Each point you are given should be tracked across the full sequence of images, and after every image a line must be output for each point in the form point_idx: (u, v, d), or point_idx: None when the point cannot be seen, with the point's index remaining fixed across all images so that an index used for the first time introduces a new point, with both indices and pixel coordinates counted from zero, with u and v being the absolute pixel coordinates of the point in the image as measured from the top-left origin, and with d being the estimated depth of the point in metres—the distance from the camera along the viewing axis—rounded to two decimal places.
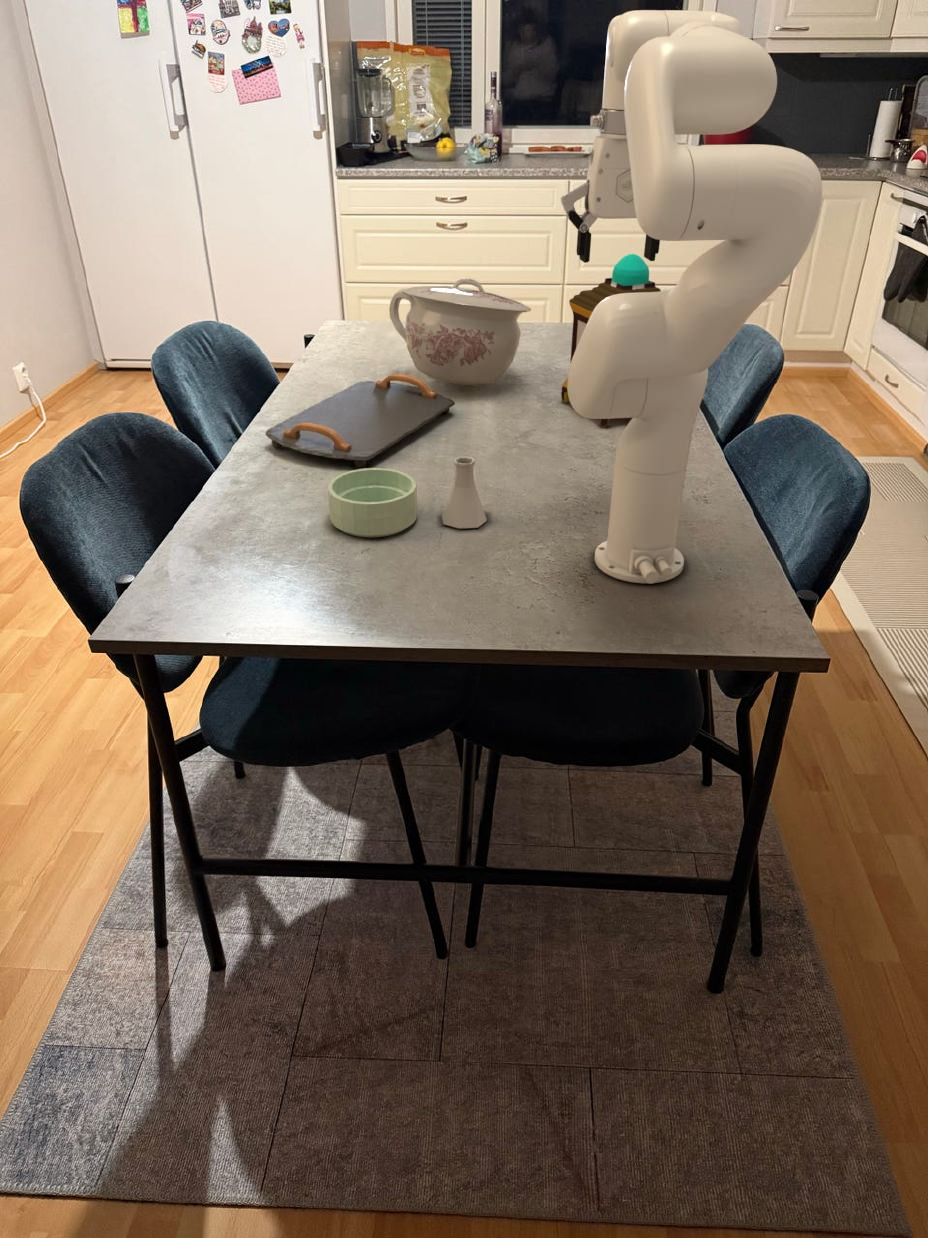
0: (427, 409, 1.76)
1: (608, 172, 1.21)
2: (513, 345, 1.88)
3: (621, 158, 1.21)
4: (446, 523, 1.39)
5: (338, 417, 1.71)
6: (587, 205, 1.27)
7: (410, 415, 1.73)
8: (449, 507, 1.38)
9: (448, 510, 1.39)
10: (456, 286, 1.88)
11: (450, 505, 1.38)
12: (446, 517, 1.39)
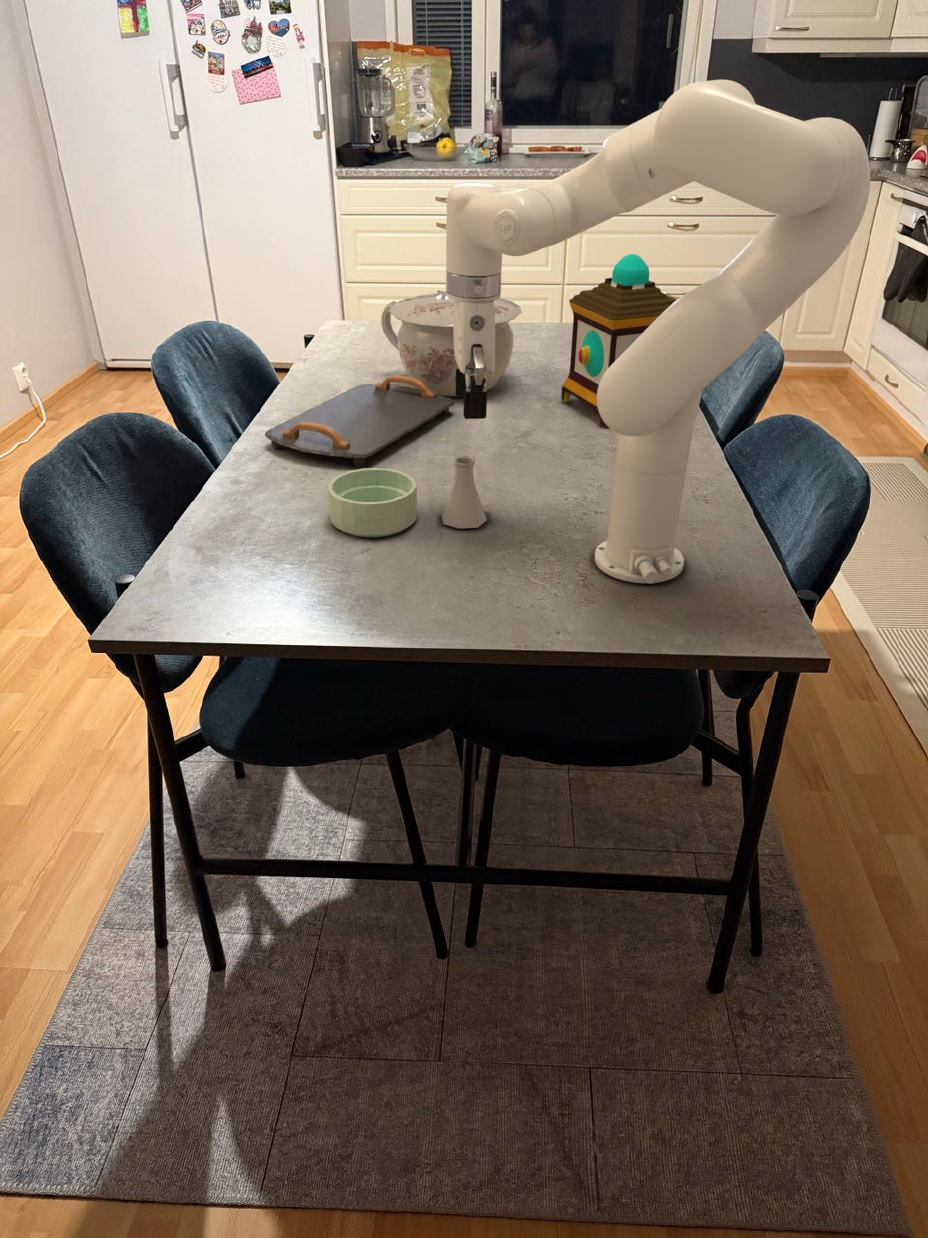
0: (426, 408, 1.76)
1: None
2: (507, 352, 1.87)
3: None
4: (446, 523, 1.39)
5: (337, 418, 1.71)
6: None
7: (409, 414, 1.73)
8: (449, 507, 1.38)
9: (448, 510, 1.39)
10: (443, 297, 1.87)
11: (450, 505, 1.38)
12: (446, 517, 1.39)
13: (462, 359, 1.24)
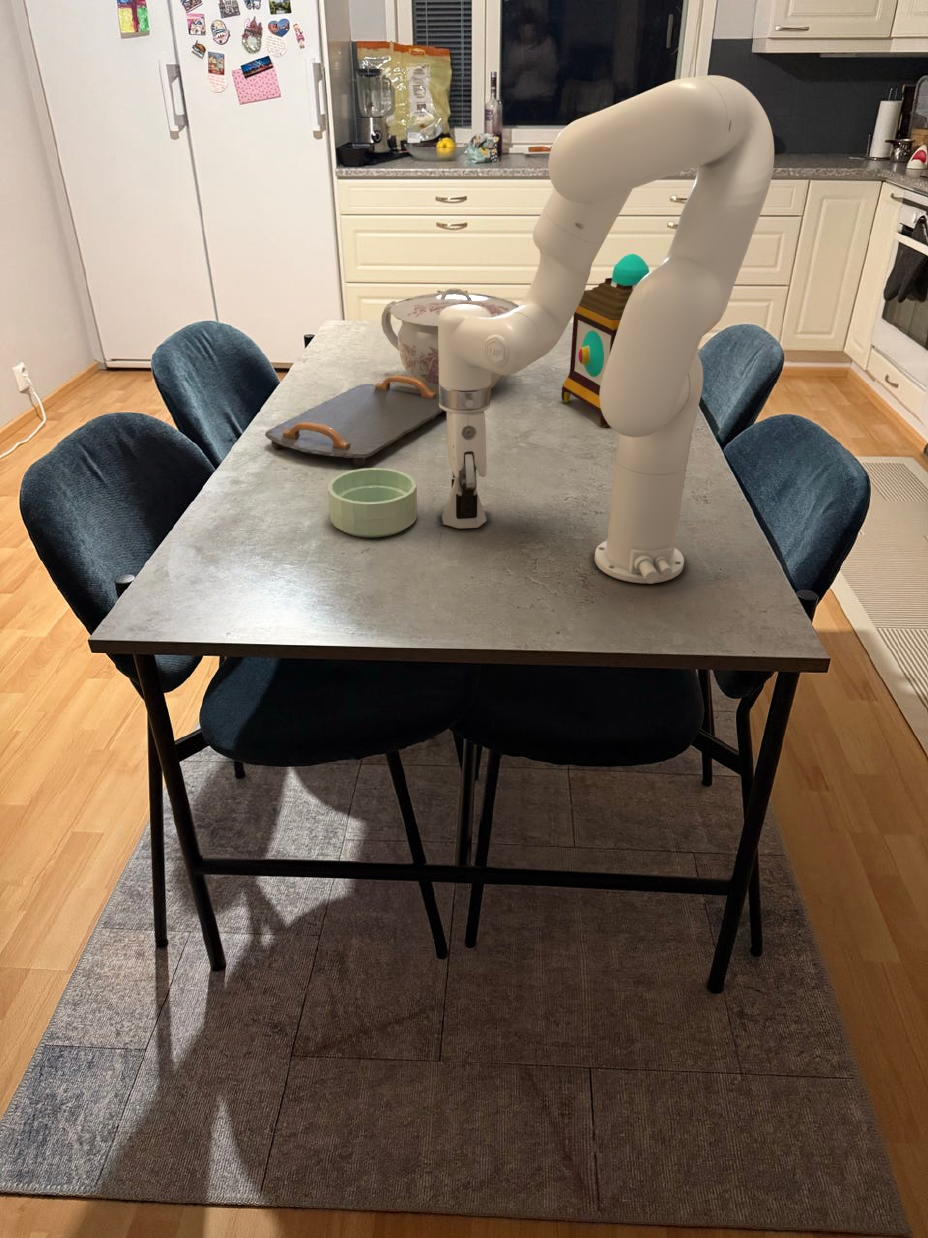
0: (426, 408, 1.76)
1: None
2: None
3: None
4: (446, 523, 1.39)
5: (337, 418, 1.71)
6: None
7: (409, 414, 1.73)
8: (449, 507, 1.38)
9: (448, 510, 1.39)
10: (443, 297, 1.87)
11: (450, 505, 1.38)
12: (446, 517, 1.39)
13: (455, 465, 1.31)
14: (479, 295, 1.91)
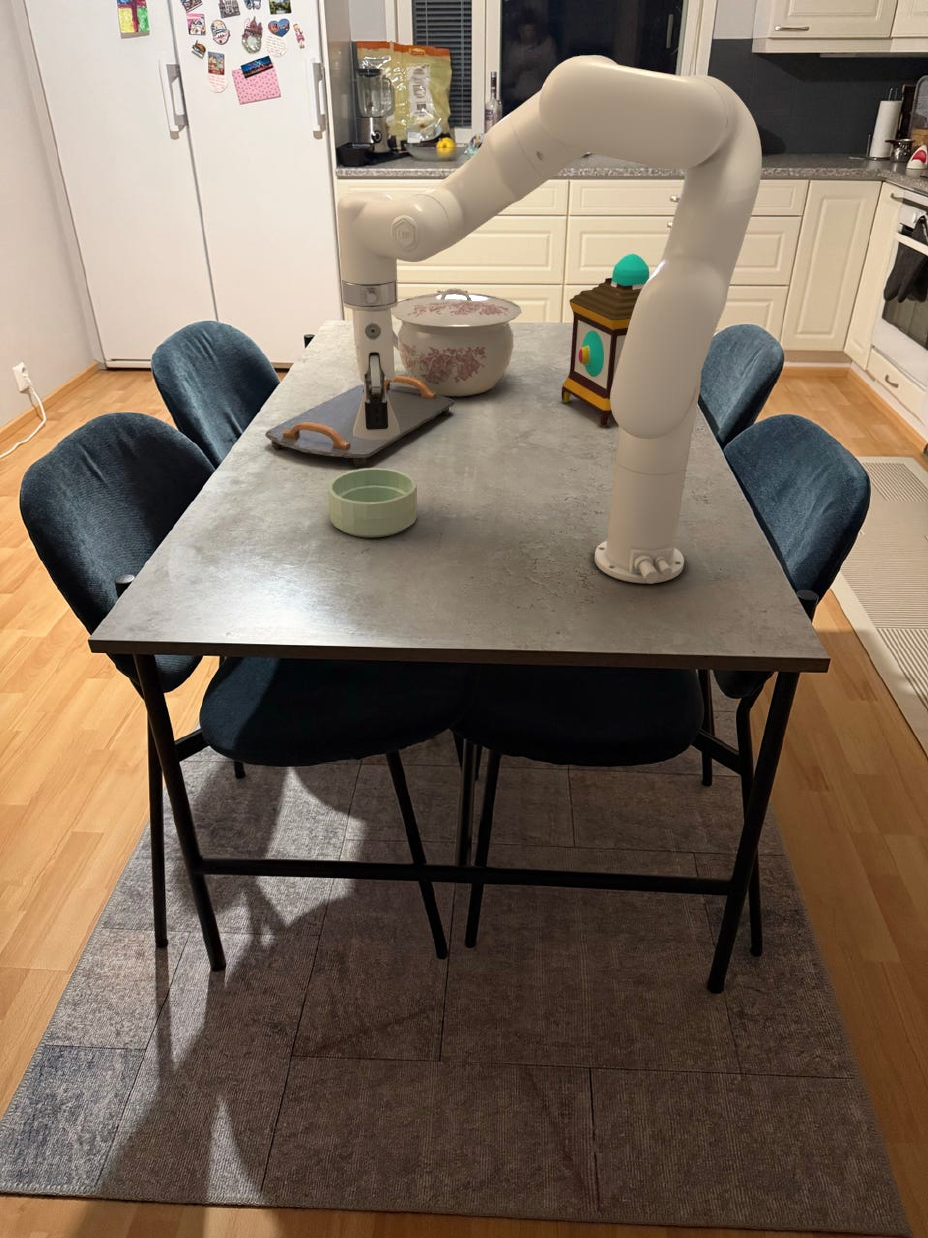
0: (426, 408, 1.76)
1: None
2: (507, 352, 1.87)
3: None
4: (356, 435, 1.31)
5: (338, 418, 1.71)
6: None
7: (410, 414, 1.73)
8: (359, 417, 1.31)
9: (358, 421, 1.31)
10: (443, 297, 1.87)
11: (360, 415, 1.30)
12: (356, 428, 1.31)
13: (360, 367, 1.23)
14: (479, 295, 1.91)
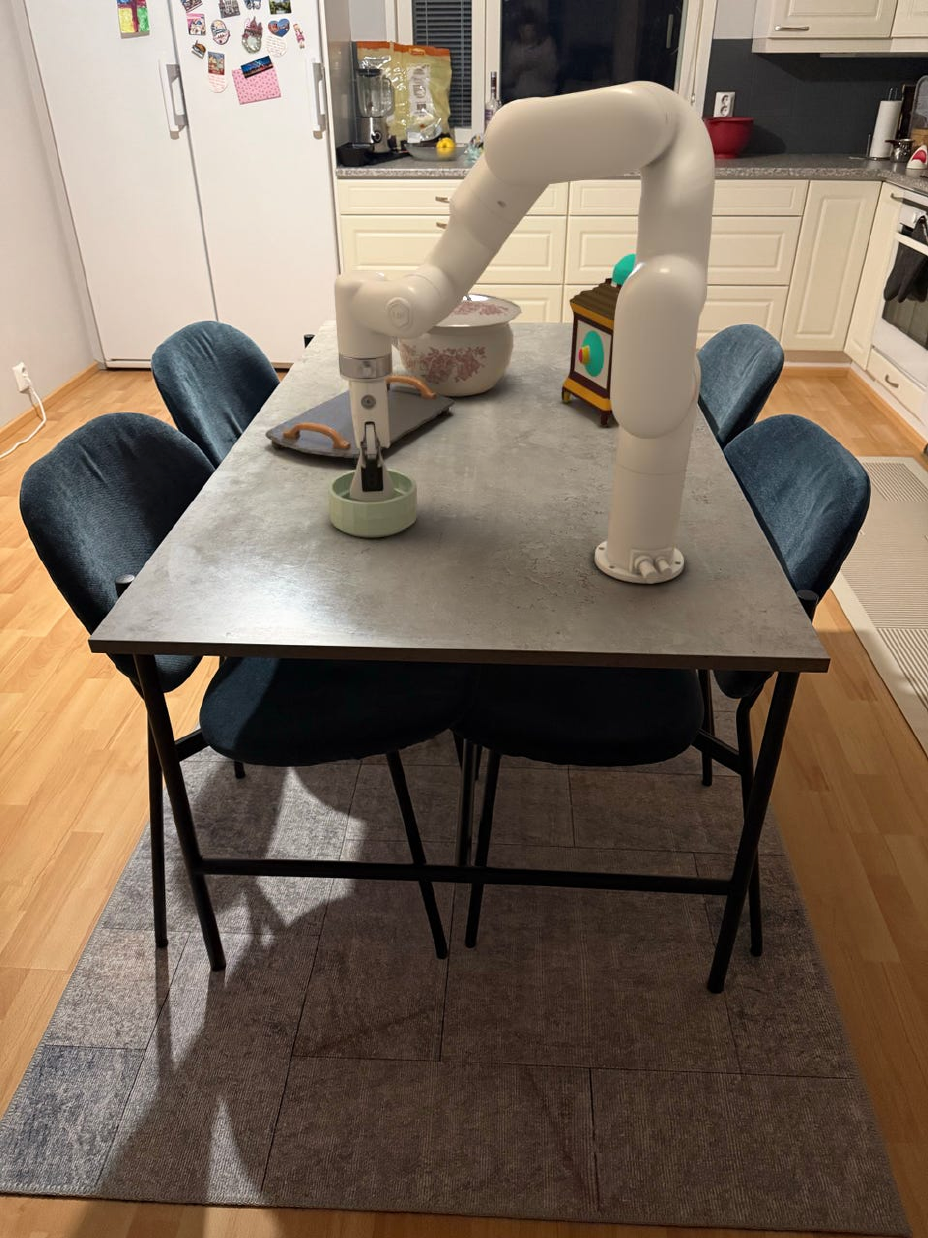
0: (427, 408, 1.76)
1: (387, 408, 1.29)
2: (507, 352, 1.87)
3: None
4: (352, 496, 1.36)
5: (338, 418, 1.71)
6: None
7: (410, 414, 1.73)
8: (355, 480, 1.36)
9: (354, 483, 1.36)
10: None
11: (356, 478, 1.35)
12: (352, 490, 1.36)
13: (356, 435, 1.28)
14: (479, 295, 1.91)
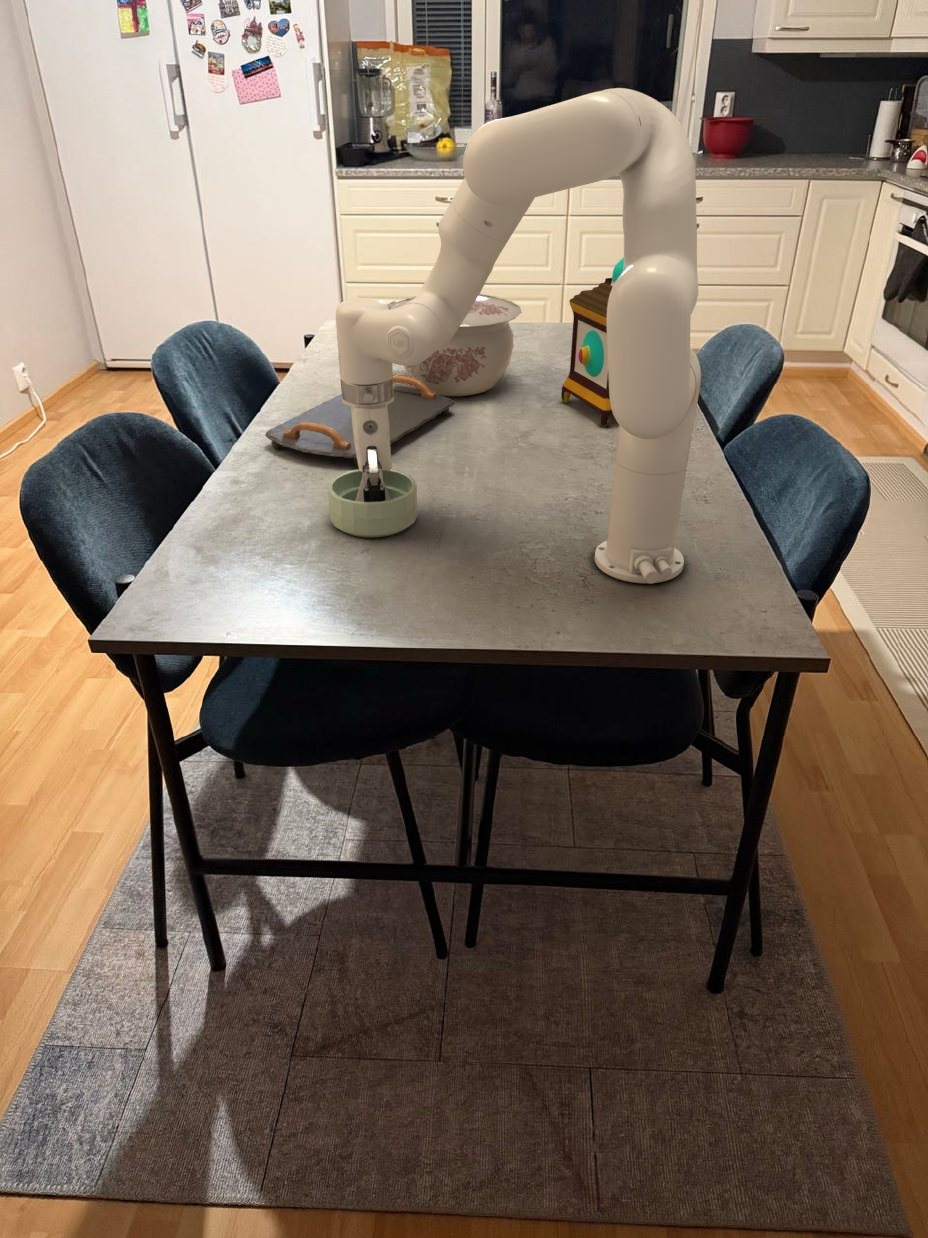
0: (427, 408, 1.76)
1: (389, 432, 1.31)
2: (507, 352, 1.87)
3: (388, 417, 1.31)
4: None
5: (338, 418, 1.71)
6: None
7: (410, 414, 1.73)
8: None
9: None
10: None
11: None
12: None
13: (359, 460, 1.30)
14: (479, 295, 1.91)
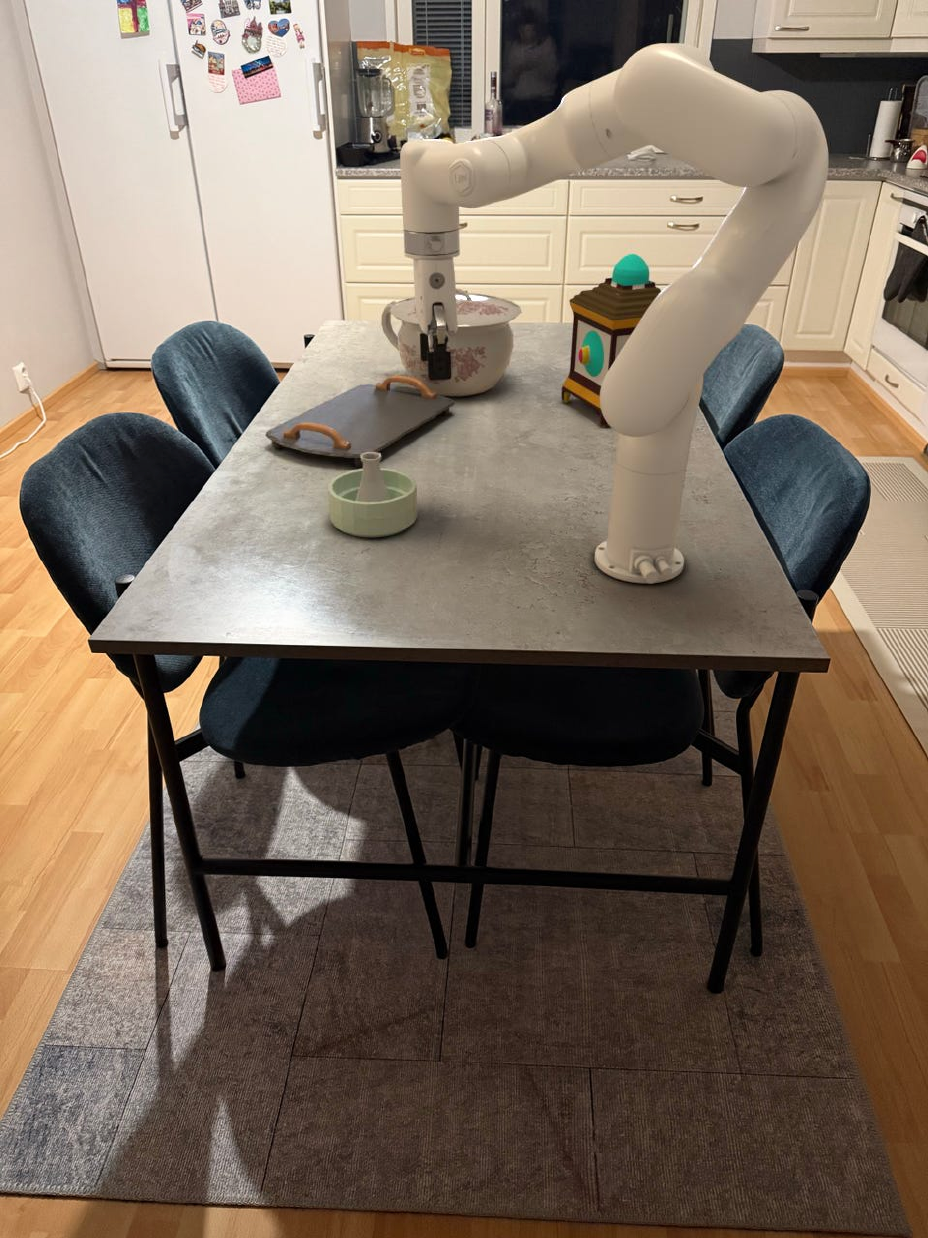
0: (427, 408, 1.76)
1: None
2: (507, 352, 1.87)
3: None
4: None
5: (338, 418, 1.71)
6: None
7: (410, 414, 1.73)
8: None
9: None
10: None
11: None
12: None
13: (424, 318, 1.22)
14: (479, 295, 1.91)
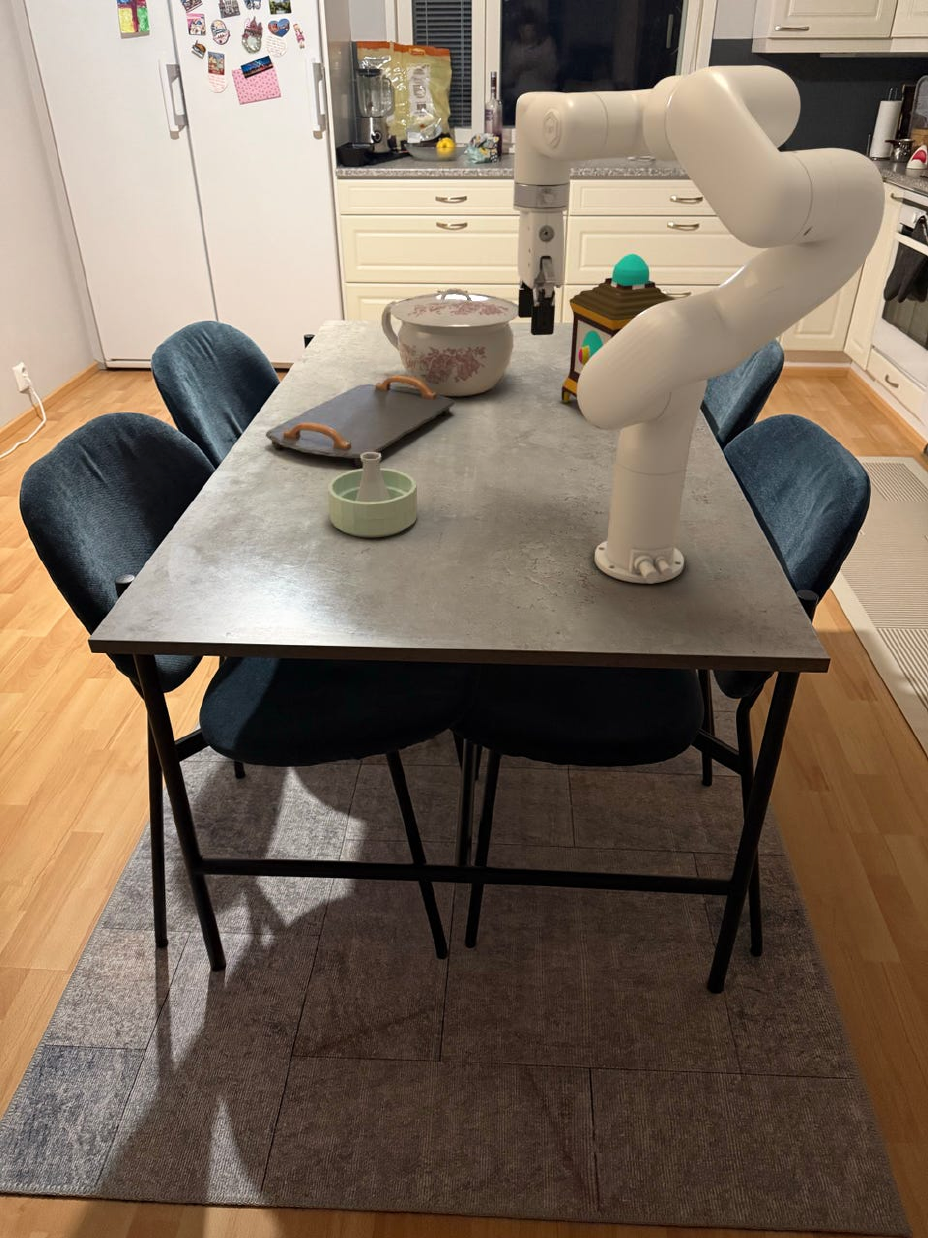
0: (427, 408, 1.76)
1: None
2: (507, 352, 1.87)
3: None
4: None
5: (338, 418, 1.71)
6: None
7: (410, 414, 1.73)
8: None
9: None
10: (443, 297, 1.87)
11: None
12: None
13: (531, 272, 1.23)
14: (479, 295, 1.91)
